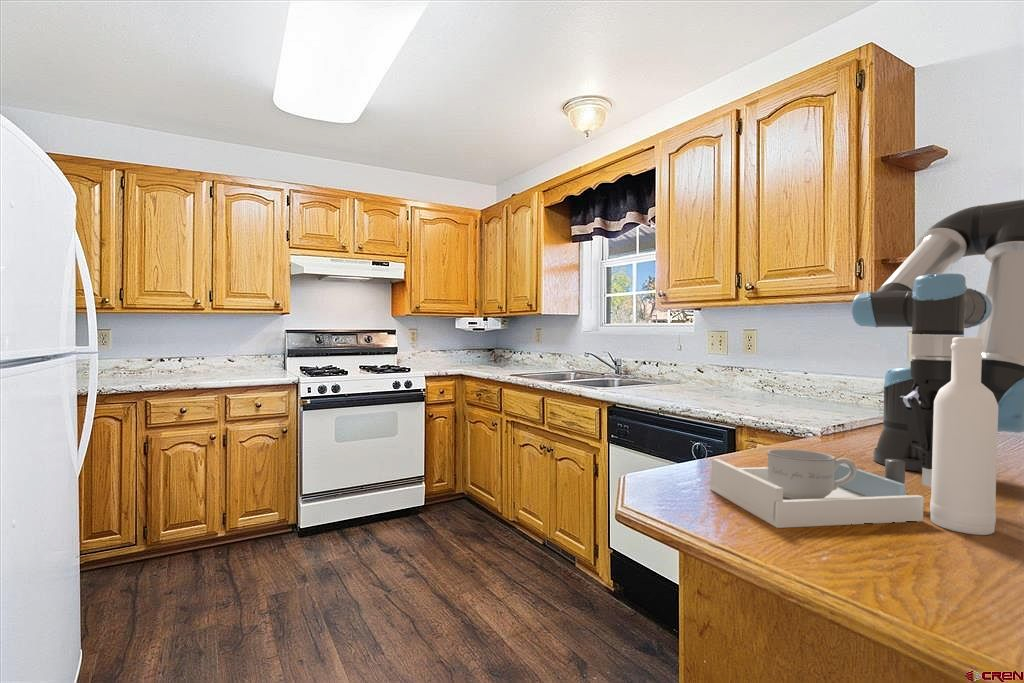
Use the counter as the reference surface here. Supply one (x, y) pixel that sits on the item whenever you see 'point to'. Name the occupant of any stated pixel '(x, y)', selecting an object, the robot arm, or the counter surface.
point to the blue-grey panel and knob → (876, 480)
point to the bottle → (965, 446)
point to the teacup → (806, 473)
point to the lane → (807, 501)
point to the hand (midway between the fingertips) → (931, 486)
